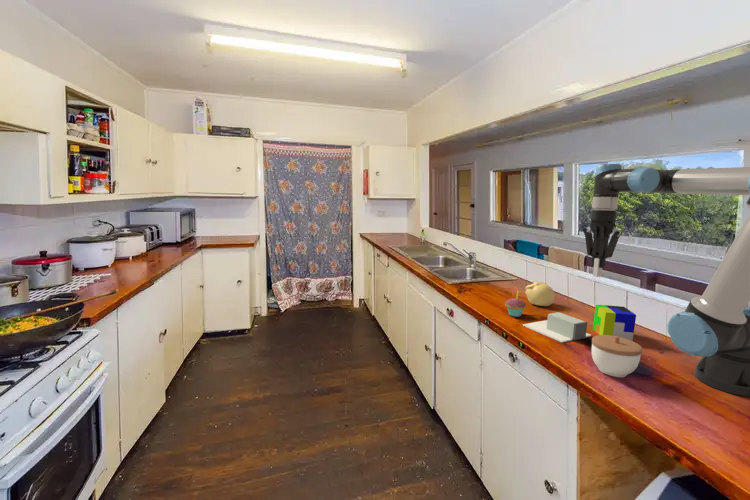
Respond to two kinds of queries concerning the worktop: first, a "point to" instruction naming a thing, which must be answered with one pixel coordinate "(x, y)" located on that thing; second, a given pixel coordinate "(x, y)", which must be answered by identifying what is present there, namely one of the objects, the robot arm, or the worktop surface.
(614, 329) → the puzzle toy
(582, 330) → the sage block
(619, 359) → the lidded bowl
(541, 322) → the board
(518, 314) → the cupcake
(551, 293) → the sculpture
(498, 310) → the worktop surface
